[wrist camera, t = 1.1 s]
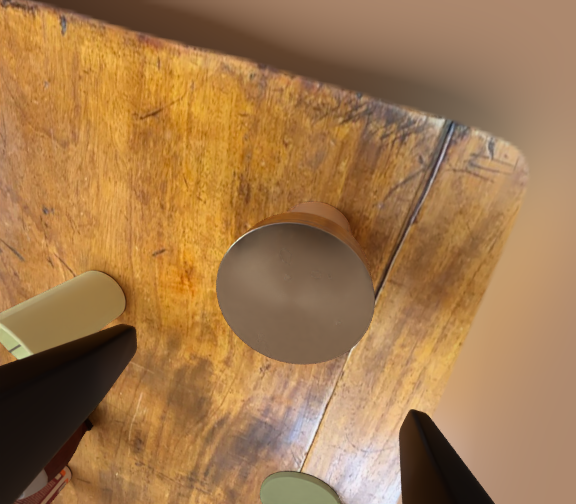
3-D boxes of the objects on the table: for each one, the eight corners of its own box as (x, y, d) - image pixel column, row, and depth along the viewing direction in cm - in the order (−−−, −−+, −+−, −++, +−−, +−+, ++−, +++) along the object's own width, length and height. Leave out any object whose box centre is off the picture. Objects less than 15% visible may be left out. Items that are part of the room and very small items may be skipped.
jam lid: (393, 231, 12) (400, 245, 10) (350, 355, 15) (351, 382, 13) (239, 196, 13) (222, 204, 11) (225, 319, 16) (210, 341, 14)
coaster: (350, 489, 29) (350, 495, 28) (330, 534, 32) (330, 540, 32) (267, 460, 30) (266, 466, 29) (256, 507, 33) (254, 513, 33)
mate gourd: (74, 431, 35) (-101, 615, 21) (36, 384, 33) (-184, 552, 19) (116, 425, 33) (-49, 626, 19) (79, 374, 31) (-137, 557, 17)
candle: (107, 325, 27) (15, 393, 20) (69, 286, 26) (-41, 342, 19) (136, 302, 25) (48, 367, 18) (97, 260, 25) (-12, 310, 17)
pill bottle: (37, 454, 39) (-38, 530, 31) (64, 458, 38) (-8, 537, 30) (52, 477, 41) (-17, 554, 33) (77, 481, 40) (12, 562, 32)
